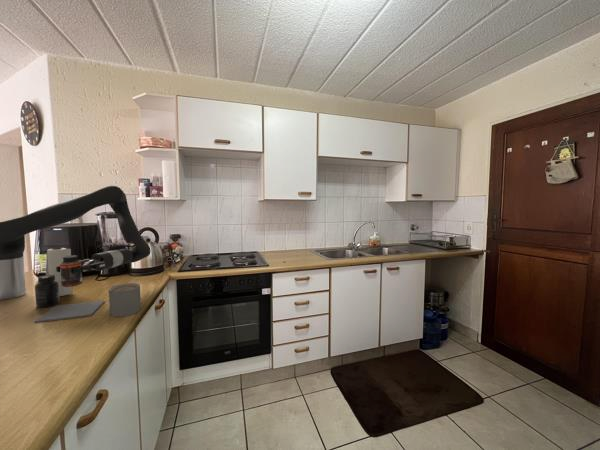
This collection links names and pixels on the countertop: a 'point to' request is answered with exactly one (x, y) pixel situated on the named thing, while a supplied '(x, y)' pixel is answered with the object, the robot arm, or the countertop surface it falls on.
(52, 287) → the supplement bottle
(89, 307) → the mat
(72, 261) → the supplement bottle
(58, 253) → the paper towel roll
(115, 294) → the coffee mug
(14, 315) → the countertop surface
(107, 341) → the countertop surface
